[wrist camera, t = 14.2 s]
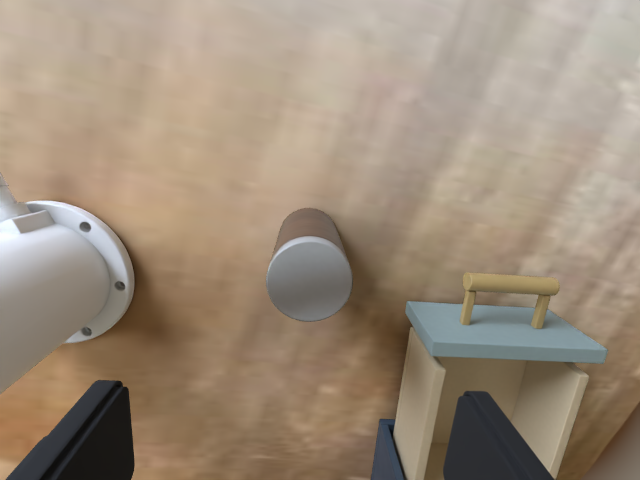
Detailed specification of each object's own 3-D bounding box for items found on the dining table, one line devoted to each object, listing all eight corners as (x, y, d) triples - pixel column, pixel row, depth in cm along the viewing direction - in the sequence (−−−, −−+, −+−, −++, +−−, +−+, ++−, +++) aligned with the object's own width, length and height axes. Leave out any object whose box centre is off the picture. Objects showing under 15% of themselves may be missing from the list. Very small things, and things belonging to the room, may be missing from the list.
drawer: (413, 255, 30) (443, 285, 23) (559, 264, 30) (627, 296, 24) (385, 439, 35) (403, 505, 28) (510, 442, 36) (555, 508, 29)
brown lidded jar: (270, 220, 29) (252, 259, 19) (325, 199, 29) (335, 228, 19) (292, 271, 31) (286, 333, 20) (344, 251, 30) (364, 305, 20)
